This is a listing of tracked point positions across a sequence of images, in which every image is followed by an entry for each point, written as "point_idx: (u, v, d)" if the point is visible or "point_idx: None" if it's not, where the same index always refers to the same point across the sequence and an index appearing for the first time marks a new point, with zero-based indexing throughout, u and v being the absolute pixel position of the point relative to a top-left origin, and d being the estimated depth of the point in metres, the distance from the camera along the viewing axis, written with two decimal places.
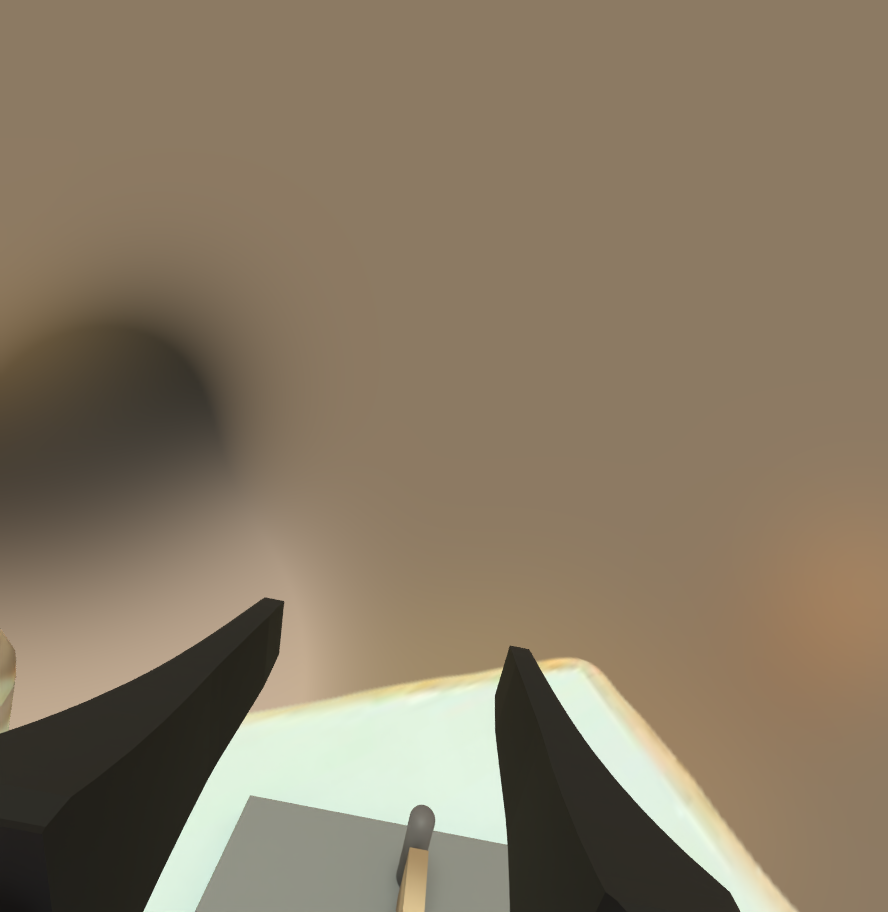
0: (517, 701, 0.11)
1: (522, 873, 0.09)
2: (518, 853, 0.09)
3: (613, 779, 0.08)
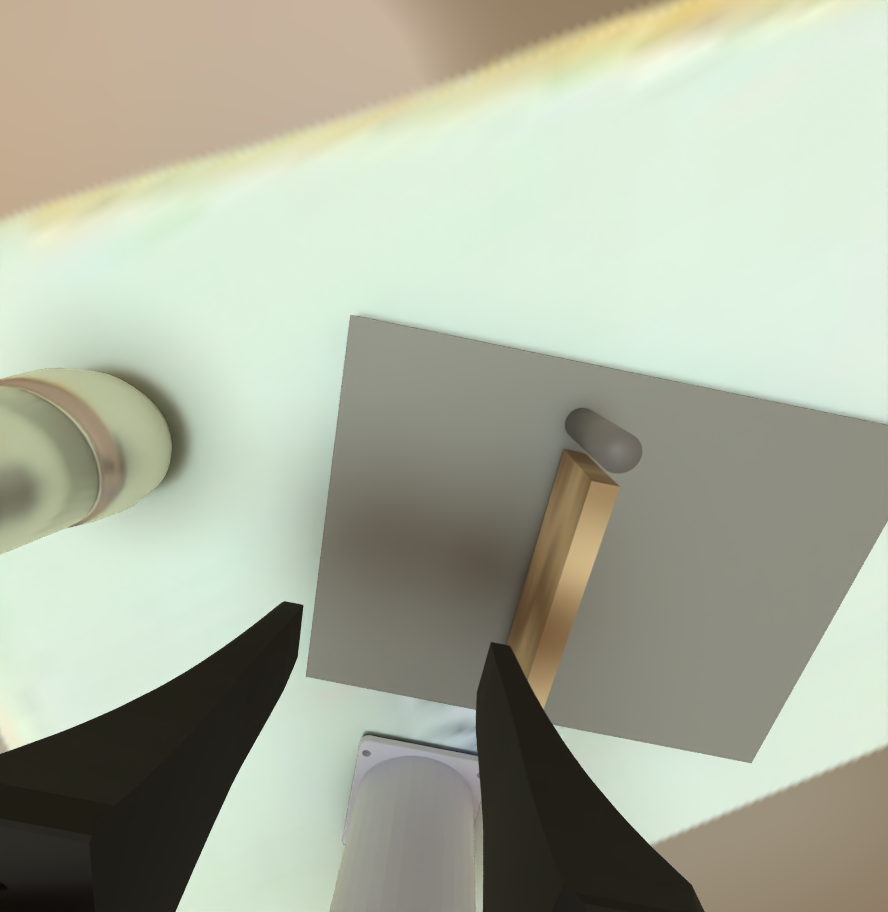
0: (495, 697, 0.11)
1: (494, 868, 0.09)
2: (492, 848, 0.09)
3: (584, 774, 0.08)
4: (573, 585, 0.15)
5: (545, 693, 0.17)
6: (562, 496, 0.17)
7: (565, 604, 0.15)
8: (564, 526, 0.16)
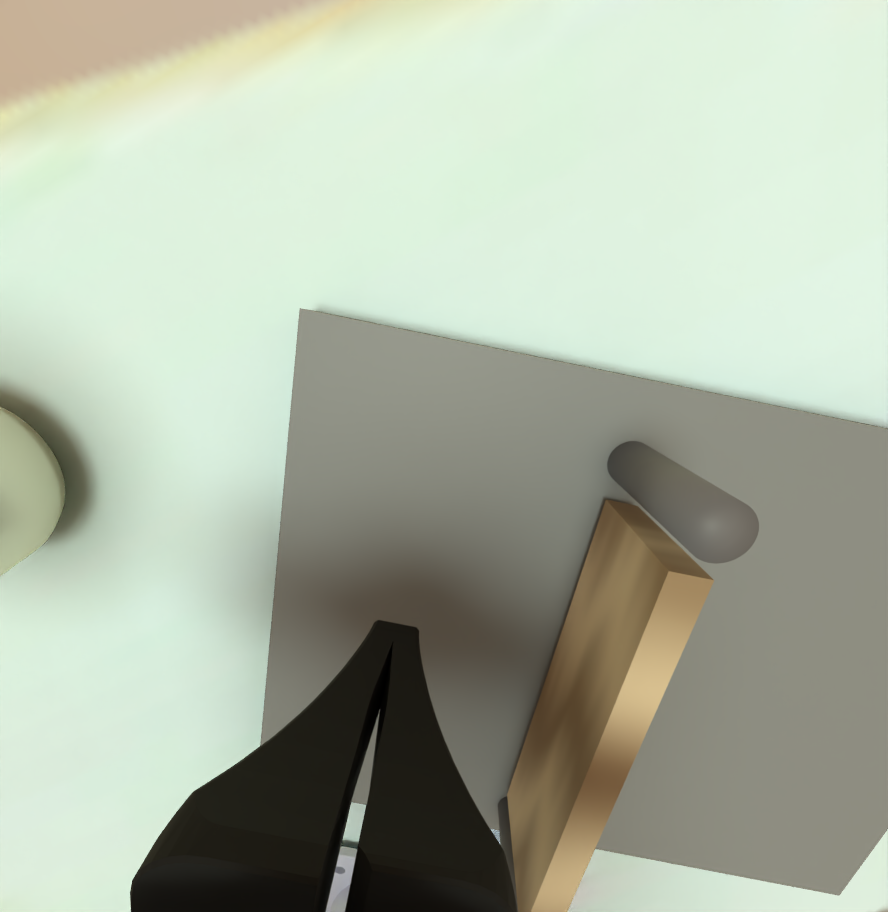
0: (388, 676, 0.11)
1: None
2: None
3: (442, 746, 0.08)
4: (632, 720, 0.10)
5: (583, 862, 0.11)
6: (607, 572, 0.11)
7: (618, 746, 0.10)
8: (615, 625, 0.10)
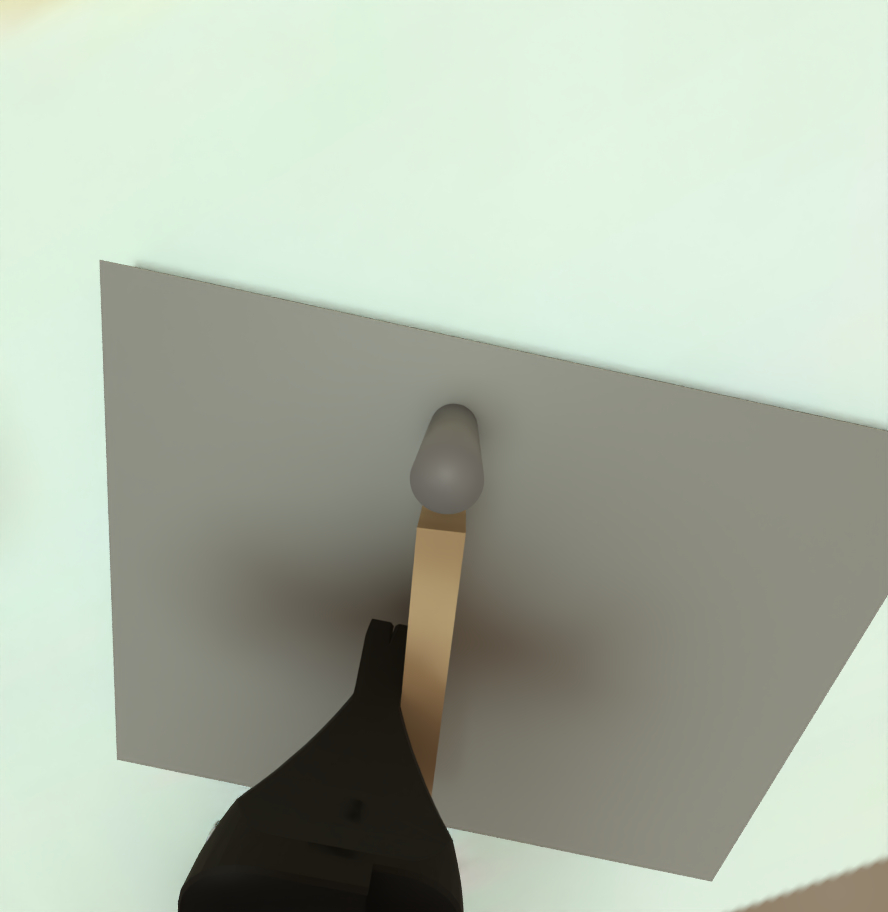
0: None
1: None
2: None
3: (404, 739, 0.08)
4: (426, 688, 0.10)
5: None
6: None
7: (419, 716, 0.10)
8: None
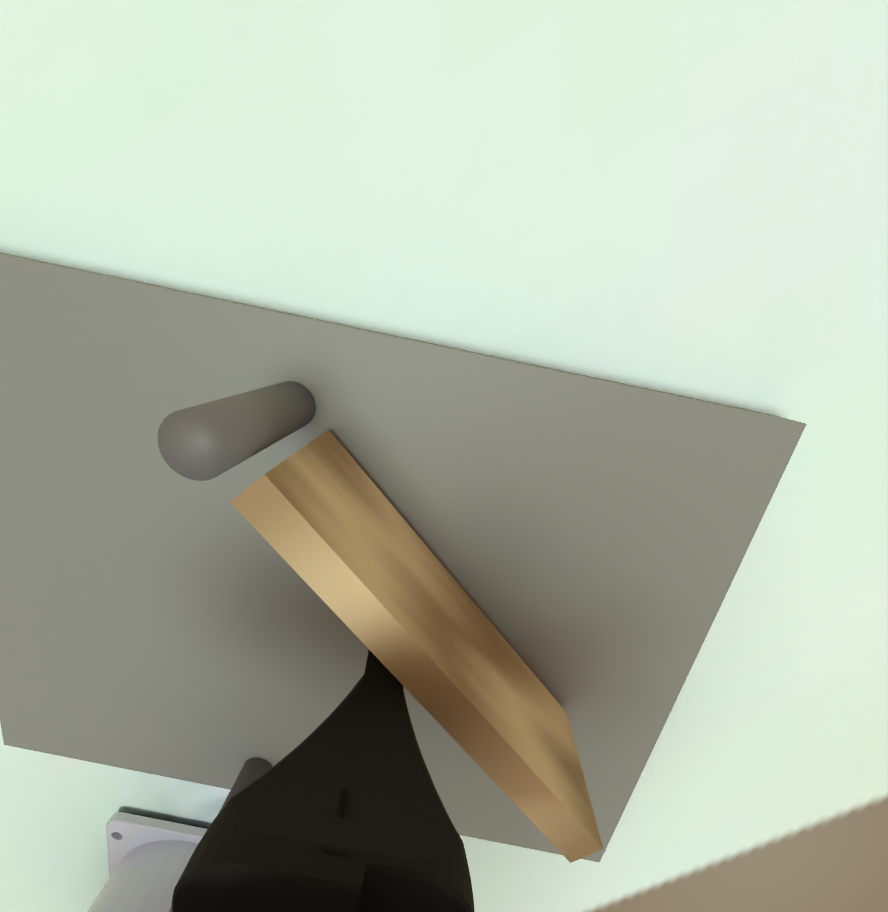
0: None
1: None
2: None
3: (411, 740, 0.08)
4: (377, 626, 0.09)
5: (519, 763, 0.10)
6: None
7: (399, 653, 0.09)
8: None
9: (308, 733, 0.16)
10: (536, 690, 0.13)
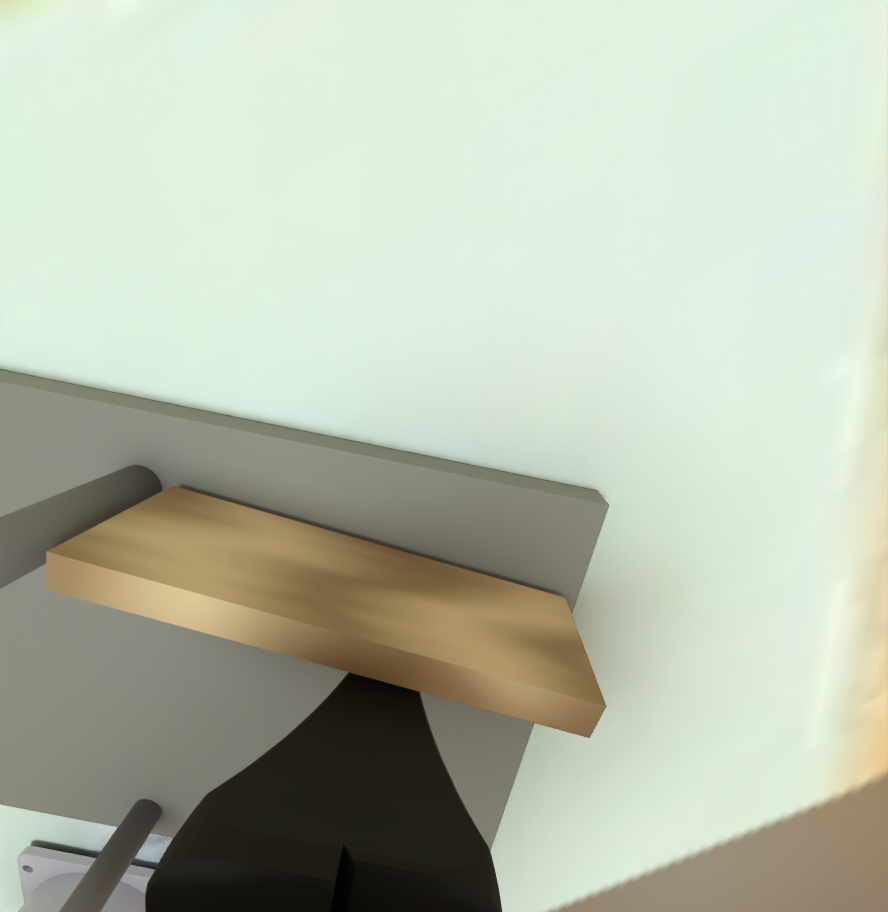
0: None
1: None
2: None
3: (431, 744, 0.08)
4: (228, 618, 0.09)
5: (450, 669, 0.09)
6: None
7: (264, 631, 0.09)
8: None
9: (190, 777, 0.17)
10: (503, 593, 0.12)
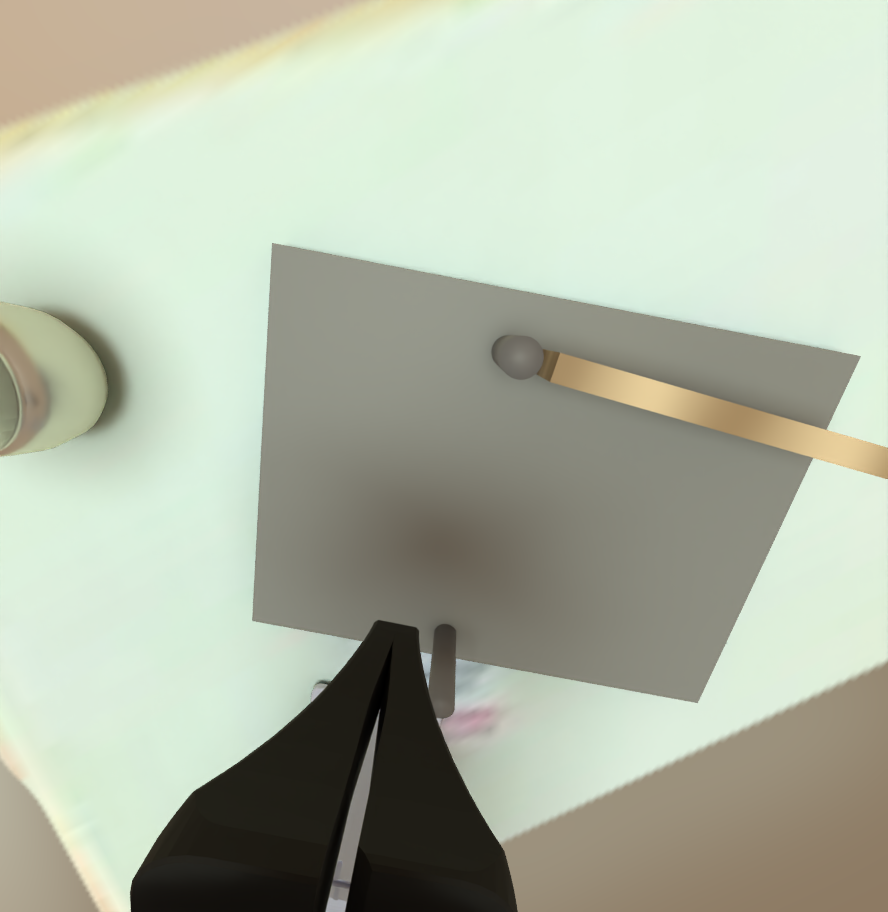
0: (388, 676, 0.11)
1: None
2: None
3: (442, 746, 0.08)
4: (670, 399, 0.14)
5: (816, 431, 0.14)
6: None
7: (693, 408, 0.14)
8: None
9: (486, 602, 0.21)
10: None
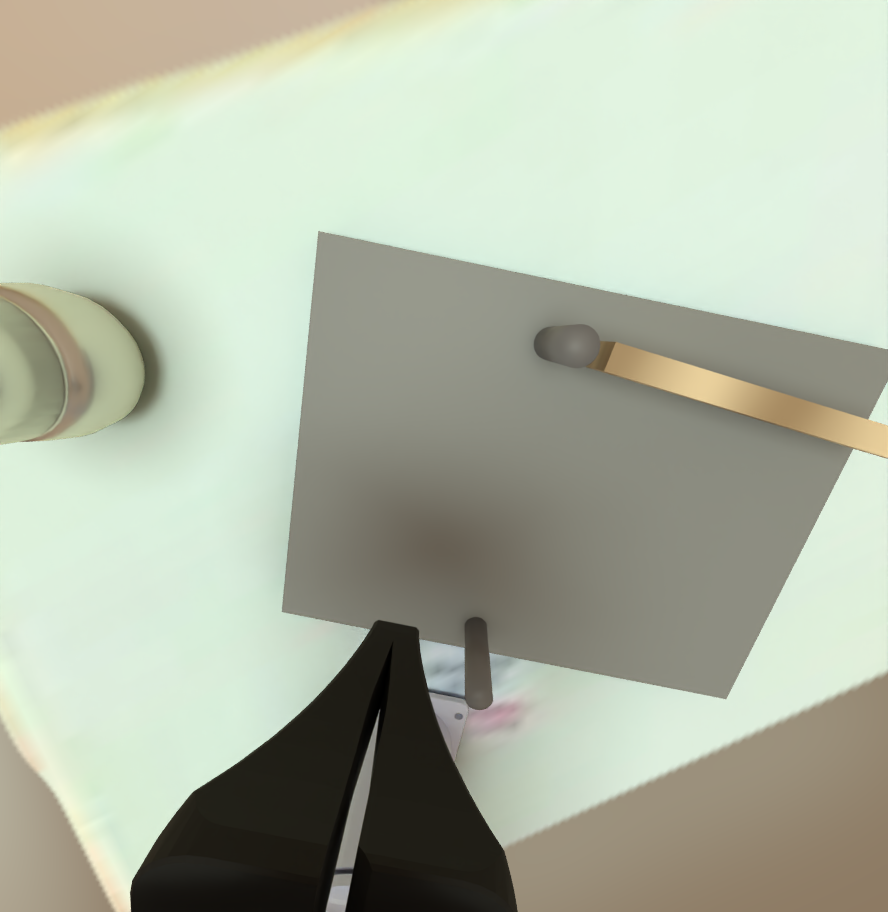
0: (388, 676, 0.11)
1: None
2: None
3: (442, 746, 0.08)
4: (723, 390, 0.14)
5: (867, 424, 0.14)
6: (621, 377, 0.16)
7: (746, 398, 0.14)
8: (653, 386, 0.15)
9: (518, 595, 0.21)
10: None
